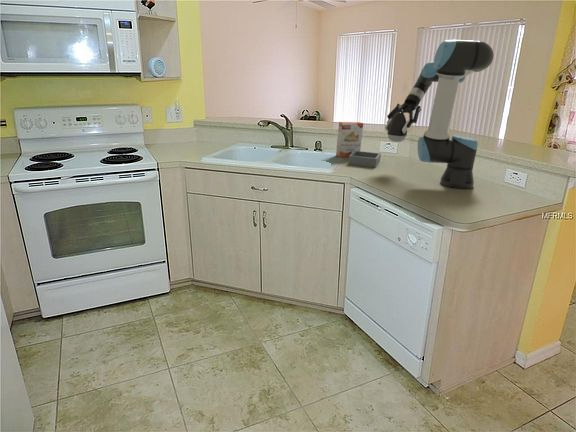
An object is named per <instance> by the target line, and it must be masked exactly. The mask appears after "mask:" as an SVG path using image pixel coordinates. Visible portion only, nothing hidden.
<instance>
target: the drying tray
mask: <svg viewBox="0 0 576 432" xmlns="http://www.w3.org/2000/svg"><path fill="white" fill-rule="evenodd" d="M381 157H382V153H381V152H380V153H379V152H371V151H362V150H360V151H354V152H353V153H352V154H351V155H349V157H348V165H352V166H360V167H368V168H377V166H378V165H379V164H380V162H381Z"/></svg>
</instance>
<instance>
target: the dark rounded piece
mask: <svg viewBox="0 0 576 432" xmlns="http://www.w3.org/2000/svg"><path fill="white" fill-rule="evenodd" d="M406 122H407V118H406V115H405V114H404V113H401V112H398V113H396V114H395V115H394V116H393V118H392V120H391V122H390V125H389V128H388V131H386V132H387V136H388V137H387V138H388V139H389V141H392V142H395V143H397V142H398V143H400V142H403V141H404V140H405V139H406V137H407V136H408V129H407V130H406V132H405V133H403V131H402V129H403V127H404V125H405V124H406Z"/></svg>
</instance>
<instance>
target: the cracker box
mask: <svg viewBox="0 0 576 432" xmlns="http://www.w3.org/2000/svg"><path fill="white" fill-rule="evenodd" d="M363 129H364V123H363V122H361V121H339V122H338V130H337V141H336V151H335V152H336V153H335V155H336V156H337V157H338V158H349V155H351V154H352V153H353V152H354V151H361V147H362V146H361V145H362V138H363Z"/></svg>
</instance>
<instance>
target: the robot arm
mask: <svg viewBox="0 0 576 432" xmlns="http://www.w3.org/2000/svg"><path fill="white" fill-rule="evenodd" d="M494 56H495V55H494V50H493V48H492V47H491V46H490V45H489V44H488V43H487V42H485V41H482V40H463V39H446V40H443V41H442V42H440V44H439V45H438V47H437V49H436V52H435V54H434V58H433V61H430V62H429V61H428V62H426V63H425V64H424V66H423V67H422V69H421V70H420V73H419V76H418V77H417V79H416V81H415V83H414V85H413V87H412V88H411V90H410V91H409V93H408V95H407V96H406V98H405V100H404V102H403V103H402V104H400V103H397V105H396V106H395V107H394V108H393V109H392V110H391V111H390V112H389V113H388V114H387V116H386V117H387V122H386V125H385V127H384V128H385V130H386V132H388V128H389V125H390V122H391V120H392V118H393V116H394V115H395V114H396V113H398V112H401V113H403V114H404V113H405V114H408V118H409V119H408V120H406V124H405V125H404V127H403V129H402V131H403V133H405V132H406V130H407V131H408V128H409V129H410V127H411V126H412V124H417V122H418V119H419V115H420V112H421V111H422V108H421V106H420V104H421V102H422V100H423V98H424V96H425V94H426V93H427V92H428V90H429V88H430V87H431V85H432V84H433V83H437V84H436V85H437V86H436V91H435V95H434V100H433V105H432V109H431V115H430V119H429V124H428V129H427V130H426V131H424V133H423V136H421V137H419V138H418V140H417V155H418V159H419V161H420V162H423V163H429V164H433V163H434V164H435V163H436V164H447V165H446V168H445V170H444V172H443V174H442V175H441V177H440V184H441V185H443V186H445V187H448V188H452V187H453V189H459V188H461V189H460V190H465V188H469V189H472V188H474V184H475V180H474V174H473V173H474V172H473V168H474V164H475V161H476V155H477V152H478V144H479V143H478V141H477V139H474V138H471V137H468V136H462V135H457V134H456V135H455V134H454V135H452V137H451V135H450V134H449V133H448V131H449V127H450V123H451V118H452V115H453V114H452V113H453V109H454V104H455V100H456V97H457V96H456V95H457V92H458V88H459V84H460V83H463V82H464V80H465V78H466V77H467V76H468V75H471V74H473V73H474V72H475V73H479V72H482V71H484V70H486V69H488V68H489V67H490V66H491V64H492V63H493V60H494ZM414 111H415V112H414ZM413 112H414V113H413ZM413 114H414V115H413ZM471 187H472V188H471Z"/></svg>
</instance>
